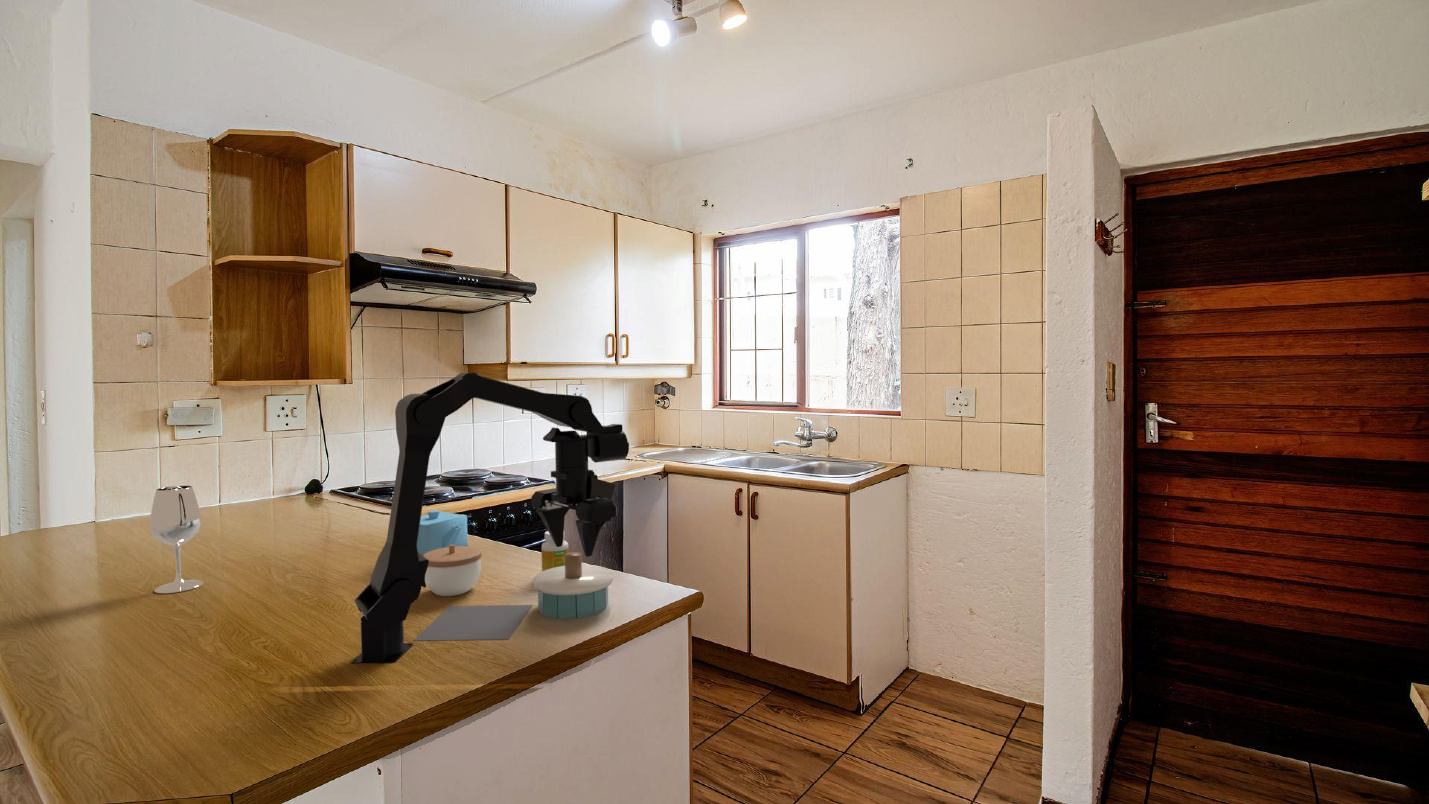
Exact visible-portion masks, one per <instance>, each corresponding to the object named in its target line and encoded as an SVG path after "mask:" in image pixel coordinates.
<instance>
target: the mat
mask: <svg viewBox="0 0 1429 804" xmlns="http://www.w3.org/2000/svg"><path fill="white" fill-rule="evenodd" d="M532 607H533V604H514V605H513V604H511V605H510V604H508V605H505V604H504V605H502V604H501V605H500V604H499V605H494V604H493V605H449V606H448V607H447V608H445V609H444V610H443V611H442V612H441V613H440V614H439V615H438V616H437V617H435V619H434V620H433V621H432V622H431V623H430V624H428V626H426V627H425V629H424V630H422V631H421V632H420V633H419V635H417V636H416V637H415V638H414V639H413V640H412V641H413V642H431V641H432V642H433V641H434V642H435V641H437V642H438V641H439V642H440V641H441V642H442V641H447V642H448V641H500V640H501V641H505V640H506V641H508V640H510V639H511V637H512V636H513V634H514V633H515V631H516V630H517V628H518V627H519V626H520V625H521V623H522V622H523V619H525V617H526V616H527V614H528V613H529V611H530V610H531V609H532Z"/></svg>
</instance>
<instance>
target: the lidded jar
mask: <svg viewBox="0 0 1429 804" xmlns="http://www.w3.org/2000/svg"><path fill="white" fill-rule="evenodd" d="M423 556H424V557H425V558H426V559H428V560H429V563H428V568H427V571H426V574H425V583H426V587H427V588H428V589H429V590H430V591H431V592H432V593H434V594H435V595H437V596H439V597H452V596H459V595H463V594H466V593H467V592H469V591H471V590H472V588H473V587H474V586H475V585H476V584H477V583H478V580H479V577H480V574H481V567H482V564H481V563H482V550H481V549H480V548H478V547H475V546H469V545H468V546H455V545H454V544H452V545H449V547H446V548H440V549H436V550H433V551H430V552H427V553H425V554H424V555H423Z"/></svg>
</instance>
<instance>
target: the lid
mask: <svg viewBox="0 0 1429 804" xmlns="http://www.w3.org/2000/svg"><path fill="white" fill-rule="evenodd" d="M582 555H583V554H582V552H577V551H571V552H569V553H566V554H565V566H560V567H555V568H551V569H548V570H545V571H542V570H541V571H540V572H538V573H537V574H536V575H535V576H533V579H532V580H533V581H532V584H533V585H532V586H533V588H534V589H535V591H537V592H538V591H539V592H542V593H546V594H552V595H578V594H585V593H590V592H594V591H598V590H601V589H603V588H605V587H607V586H608V587H609V586H610V585H611V584H612V583H613V580H614V574H613V571H612V570H611V569H609V568H607V567H604V566H600V565H593V564H583V562H582V561H583V559H582V558H583V556H582Z"/></svg>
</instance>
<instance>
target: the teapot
mask: <svg viewBox="0 0 1429 804" xmlns="http://www.w3.org/2000/svg"><path fill="white" fill-rule="evenodd" d="M426 513H427V514H423V515H422V514H421V520H420V527H419V534H418V541H417V550H418V552H419V553H420V554H421V555H424V554H425V553H427V552H430V551H433V550H436V549H440V548H446V547H449V545H452V544H454V545H455V546H469V545H468V544H469V543H468V542H469V541H468V539H469V537H468V515H467V514H458V513H453V512H448V511H447V512H446V511H443V510H442V511H440V510H439V509H433V510H432V509H431V510H429V511H427V512H426Z"/></svg>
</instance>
